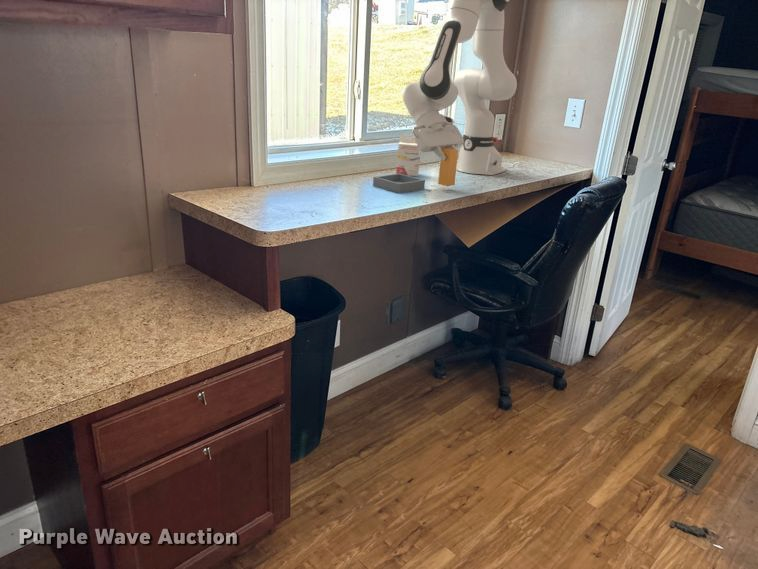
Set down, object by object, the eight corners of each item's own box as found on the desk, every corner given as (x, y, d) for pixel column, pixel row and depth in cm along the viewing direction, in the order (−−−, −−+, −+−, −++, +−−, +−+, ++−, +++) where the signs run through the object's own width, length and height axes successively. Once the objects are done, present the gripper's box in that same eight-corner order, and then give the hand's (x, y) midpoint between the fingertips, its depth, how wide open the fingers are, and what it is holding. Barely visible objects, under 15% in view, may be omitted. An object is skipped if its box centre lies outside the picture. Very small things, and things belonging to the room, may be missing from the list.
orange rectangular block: (445, 182, 196) (449, 147, 192) (454, 184, 194) (458, 149, 189) (438, 183, 194) (441, 148, 189) (447, 186, 191) (450, 150, 186)
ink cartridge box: (395, 174, 213) (398, 135, 207) (396, 172, 218) (399, 133, 212) (418, 176, 212) (421, 136, 207) (418, 173, 217) (422, 135, 211)
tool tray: (398, 181, 202) (399, 173, 201) (424, 188, 194) (425, 180, 192) (372, 185, 194) (373, 176, 192) (398, 193, 185) (399, 184, 184)
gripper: (415, 121, 183) (435, 156, 181) (455, 118, 197) (474, 150, 194) (405, 133, 188) (424, 167, 186) (444, 129, 201) (463, 161, 199)
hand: (450, 158), depth 190 cm, fingers closed on orange rectangular block, 4 cm apart
